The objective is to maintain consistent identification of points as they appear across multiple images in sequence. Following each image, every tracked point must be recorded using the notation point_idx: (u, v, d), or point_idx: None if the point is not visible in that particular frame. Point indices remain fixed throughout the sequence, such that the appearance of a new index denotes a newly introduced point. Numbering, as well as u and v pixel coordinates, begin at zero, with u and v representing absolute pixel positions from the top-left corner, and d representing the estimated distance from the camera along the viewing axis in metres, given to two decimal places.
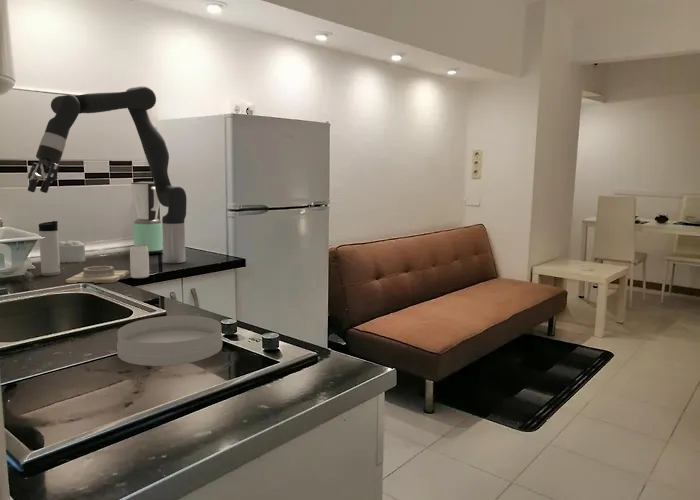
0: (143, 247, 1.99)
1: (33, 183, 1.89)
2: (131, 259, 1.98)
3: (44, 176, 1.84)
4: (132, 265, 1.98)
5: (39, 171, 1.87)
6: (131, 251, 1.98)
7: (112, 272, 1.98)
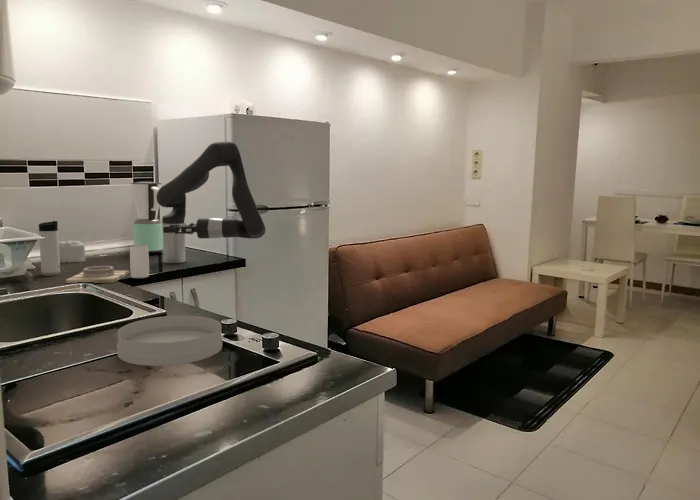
0: (143, 247, 1.99)
1: None
2: (131, 259, 1.98)
3: None
4: (132, 265, 1.98)
5: None
6: (131, 251, 1.98)
7: (112, 272, 1.98)
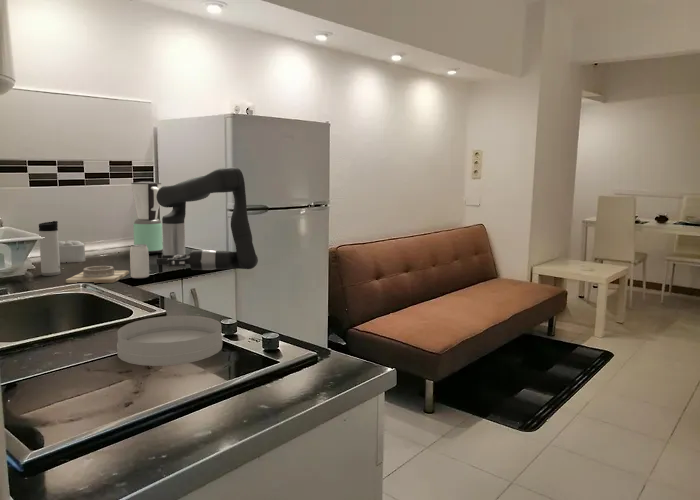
0: (143, 247, 1.99)
1: None
2: (131, 259, 1.98)
3: None
4: (132, 265, 1.98)
5: None
6: (131, 251, 1.98)
7: (112, 272, 1.98)
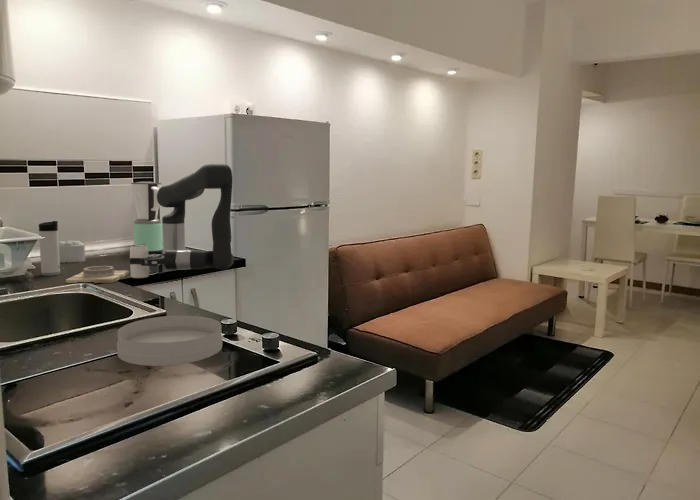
0: (143, 247, 1.99)
1: None
2: None
3: None
4: (132, 265, 1.98)
5: None
6: (131, 251, 1.98)
7: (112, 272, 1.98)
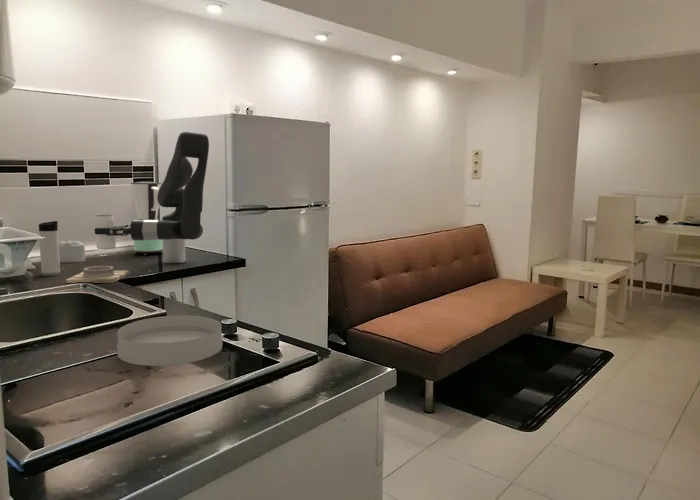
0: (108, 217, 1.94)
1: None
2: None
3: None
4: (98, 236, 1.94)
5: None
6: (96, 221, 1.93)
7: (112, 272, 1.98)
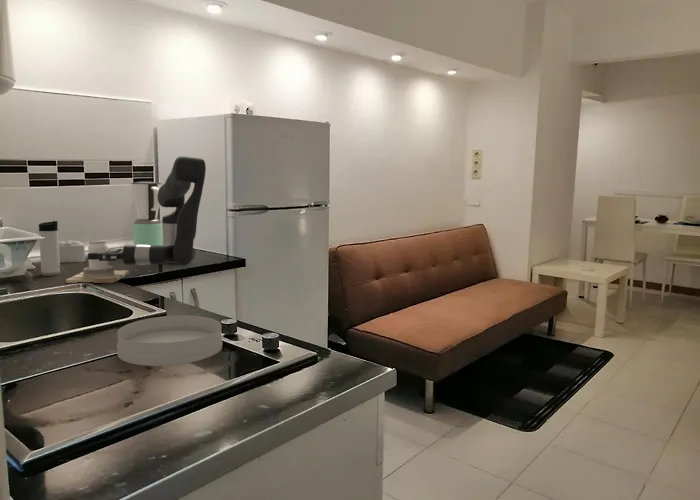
0: (101, 244, 1.95)
1: None
2: None
3: None
4: (90, 263, 1.95)
5: None
6: (89, 248, 1.94)
7: (112, 272, 1.98)
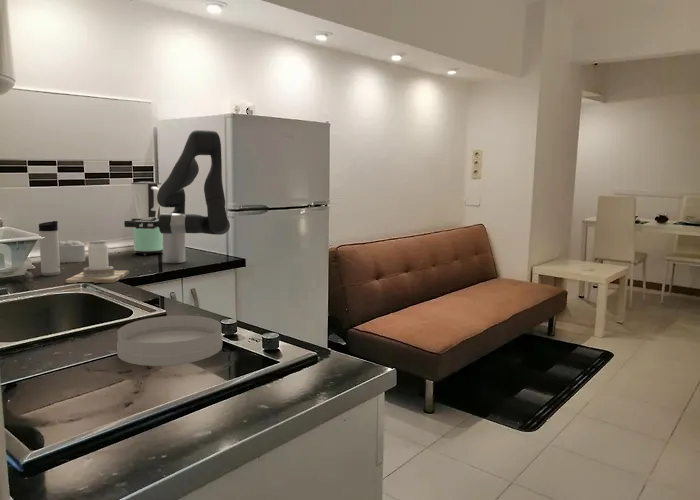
0: (102, 244, 1.95)
1: None
2: (89, 256, 1.95)
3: None
4: (90, 263, 1.95)
5: None
6: (89, 248, 1.94)
7: (112, 272, 1.98)
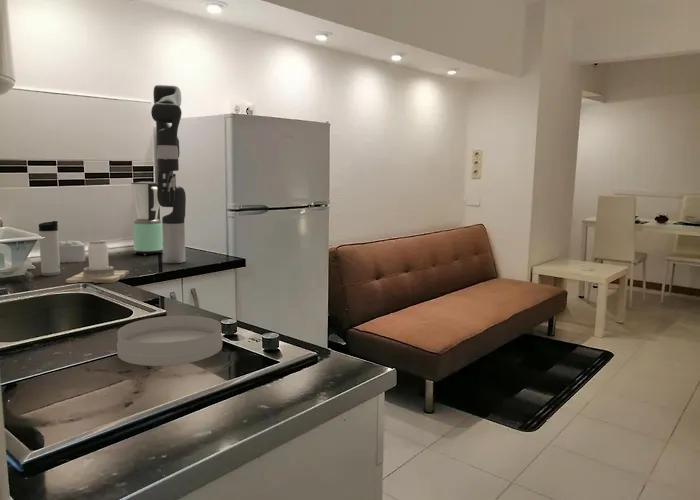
0: (102, 244, 1.95)
1: None
2: (89, 256, 1.95)
3: (174, 187, 2.08)
4: (90, 263, 1.95)
5: None
6: (89, 248, 1.94)
7: (112, 272, 1.98)
